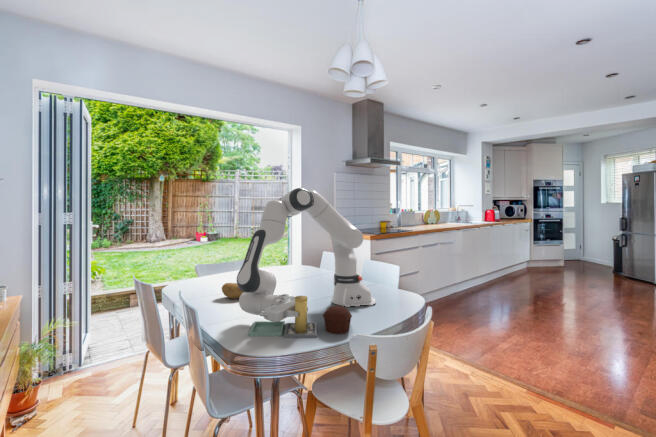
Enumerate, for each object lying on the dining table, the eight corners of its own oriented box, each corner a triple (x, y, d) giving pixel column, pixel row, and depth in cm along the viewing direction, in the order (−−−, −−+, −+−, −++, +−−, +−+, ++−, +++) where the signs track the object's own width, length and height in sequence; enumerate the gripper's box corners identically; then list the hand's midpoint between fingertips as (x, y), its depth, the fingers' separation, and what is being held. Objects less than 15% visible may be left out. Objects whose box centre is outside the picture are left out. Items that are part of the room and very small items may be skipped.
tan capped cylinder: (307, 328, 126) (307, 295, 126) (307, 333, 121) (307, 299, 121) (295, 328, 126) (295, 295, 126) (294, 333, 121) (294, 299, 121)
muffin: (328, 325, 133) (328, 301, 132) (354, 328, 129) (354, 303, 129) (318, 336, 121) (318, 310, 121) (347, 339, 118) (347, 312, 118)
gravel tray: (316, 327, 130) (316, 321, 130) (316, 340, 118) (316, 333, 118) (286, 328, 130) (286, 322, 129) (283, 340, 118) (283, 334, 118)
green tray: (284, 326, 132) (284, 321, 131) (281, 338, 120) (281, 332, 119) (255, 326, 131) (255, 321, 131) (248, 338, 119) (248, 333, 119)
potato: (243, 301, 165) (243, 286, 165) (218, 299, 168) (218, 284, 168) (251, 296, 175) (251, 281, 174) (227, 294, 178) (227, 280, 177)
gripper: (256, 306, 120) (287, 311, 114) (288, 293, 138) (316, 297, 132) (256, 322, 120) (287, 329, 114) (288, 307, 139) (316, 312, 132)
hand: (303, 312), depth 123 cm, fingers closed on tan capped cylinder, 5 cm apart
